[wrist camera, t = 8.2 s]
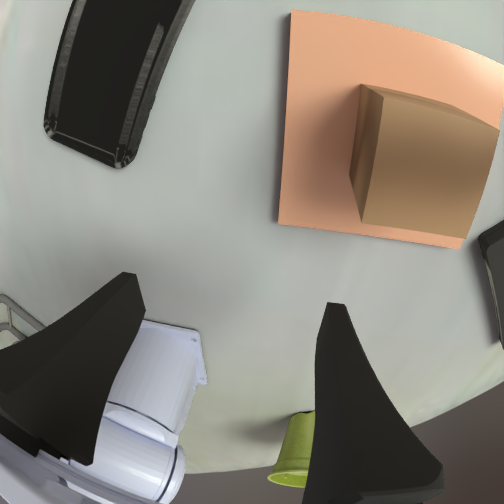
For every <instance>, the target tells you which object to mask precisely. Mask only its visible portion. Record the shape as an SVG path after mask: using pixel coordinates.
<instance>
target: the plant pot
mask: <svg viewBox="0 0 504 504" xmlns="http://www.w3.org/2000/svg"><path fill="white" fill-rule="evenodd" d="M314 426H315V411H313V412H311V413H307V414H305V413H297V414H295V415H293V416H292V417H291V418H290V420H289V424H288V427H287V431H286V434H285V438H284V441H283V444H282V448H281V451H280V454H279V457H278V460H277V463H276V464H275V465H274V467H273V471H272V472H271V473H270V474H268V476H267V478H268V480H270V481H272V482H274V483H278V484H281V485H286V486H293V487H305V486H306V481H307V475H308V470H309V463H310V457H311V450H312V443H313V435H314Z"/></svg>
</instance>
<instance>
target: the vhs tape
mask: <svg viewBox="0 0 504 504" xmlns="http://www.w3.org/2000/svg"><path fill="white" fill-rule="evenodd" d="M478 240H479V243H480V247H481V250H482V254H483V258H484V260H485V264H486V268H487V272H488V277H489V281H490V286H491V290H492V295H493V300H494V306H495V311H496V317H497V324H498V330H499V339H500V341H501V344H502V347H503V350H504V220H503V221H501V222H500V223H498V224H496V225H495V226H493V227H491V228H490V229H488V230H486V231H485V232H483V233H481V235H480V236H479V239H478Z"/></svg>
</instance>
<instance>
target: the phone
mask: <svg viewBox="0 0 504 504" xmlns="http://www.w3.org/2000/svg"><path fill="white" fill-rule="evenodd" d="M194 2H195V0H73V1H72V4H71V7H70V10H69V13H68V16H67V19H66V22H65V25H64V29H63V32H62V35H61V39H60V42H59V46H58V50H57V54H56V58H55V62H54V66H53V71H52V75H51V80H50V85H49V90H48V96H47V102H46V108H45V115H44V129H45V131H46V134H47V135H48V136H49V137H50V138H51V139H53V140H55V141H57V142H59V143H61V144H63V145H66V146H68V147H70V148H72V149H74V150H76V151H79V152H81V153H83V154H85V155H87V156H89V157H91V158H94V159H96V160H98V161H100V162H102V163H104V164H106V165H109V166H111V167H113V168H123V167H125V166H127V165H128V164H129V163H130V162H132V161H133V160H134V159H135V156H136V154H137V151H138V148H139V144H140V142H141V138H142V134H143V131H144V128H145V126H146V123H147V120H148V117H149V112H150V110H151V109H152V106H153V103H154V100H155V97H156V96H155V95H156V92H157V89H158V86H159V84H160V81H161V78H162V76H163V73H164V70H165V68H166V65H167V63H168V60H169V58H170V55H171V53H172V51H173V48H174V46H175V43H176V41H177V39H178V36H179V34H180V32H181V30H182V27H183V25H184V23H185V21H186V19H187V17H188V15H189V12H190V10H191V8H192V6H193V4H194Z"/></svg>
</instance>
